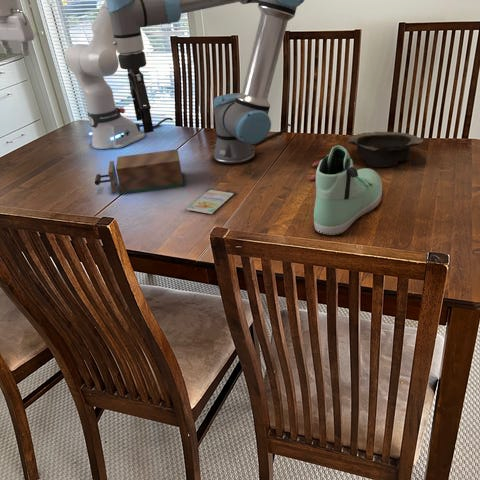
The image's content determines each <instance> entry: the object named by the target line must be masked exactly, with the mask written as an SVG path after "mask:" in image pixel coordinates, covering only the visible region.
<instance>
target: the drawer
mask: <svg viewBox="0 0 480 480" xmlns="http://www.w3.org/2000/svg"><path fill="white" fill-rule="evenodd" d="M115 165H116V164H115V161H114V160H111V161H109V166H108V172H107V174H103V175H102V174H100V173H97V174H96V175H95V179H94V185H96V186H99V185H100V184H105V183H110V186H111V191H112V192H113V193H115V192H117V190H118V183H119V180H118V176H117V171H116V166H115ZM108 177H109V179H102V178H108Z"/></svg>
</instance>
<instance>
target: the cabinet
mask: <svg viewBox="0 0 480 480" xmlns="http://www.w3.org/2000/svg"><path fill="white" fill-rule="evenodd" d="M115 165H116V166H115V170H116V174H117V179H118V184H119V185H118V186H119V189H120V193H121V195H126V194H127V195H128V194H136V193H141V192H148V191H149V192H150V191H159V190H164V189H165V190H166V189H170V188H171V189H172V188H178V187H184V181H183V175H182V174H183V173H182V167H181V160H180V154H179V150H178V149H177V148H176V149H170V150H162V151H154V152H146V153H145V152H144V153H137V154H130V155H122V156H117V158H116V164H115Z"/></svg>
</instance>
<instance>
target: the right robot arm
mask: <svg viewBox="0 0 480 480" xmlns="http://www.w3.org/2000/svg"><path fill="white" fill-rule="evenodd" d="M304 2H305V0H107V4H108V13H109V16H110V20H111V25H112V29H113V34H114V38H115V40H116V41H115V42H113V45H116V48H117V50H116V53H118V55H117V57H118V61H119V67H120V69H122V70H126V71H127V78H128V82H129V83H128V84H129V90H130V95H131V98H132V104H133V108H134V112H135V113H134V114H135V117H136V121H138V122H139V121H141V122H142V125H143V126H142V128H143V133H144V134H149V133H153V132H155V130H154V128H153V126H154V124H153V120H152V119H153V118H152V113H151V109H152V107H151V104H150V100H149V97H148V96H149V95H148V92H147V88H146V84H145V78H144V73H143V72H142V71H141V70H140V69H141V68H144V67H145V66H147V59H146V53H145V52H144V49H145V46H144V41H143V36H142V35H143V34H142V32H141V28H147V27H153V26H161V25H171V24H173V23H178V22H179V21H180V20H181V18H182V15H184V14H186V13H187V14H188V13H191V12H192V13H193V12H197V11H202V10H206V9H212V8H217V7H221V6H226V5H230V4H235V3H240V4H241V5H247V4H257V9H258V10H259V12H260V17H259V22H258V25H257V28H256V33H255V38H254V41H253V44H252V45H253V46H252V50H251V54H250V57H249V62H248V66H247V71H246V75H245V78H244V83H243V86H242V90H241V92H235V93H227V94H222V95H218V96H216V97H214V99H213V114H214V121H215V132H216V141H215V146H214V150H213V159H214V161H215V162H216V163H218V164H221V165H228V166H233V165H240V164H246V163H248V162H250V161H252V160H253V159H254V158H255V157H256V155H255V149H254V148H255V147H254V146H256V145H259V144H261V143H263V142H264V141H266V140H268V139H270V138H272V137H275V136H277V135H280V134H282V133H283V132H285V131H286V130H287V129H288V127H291V126H292V125H291V124H290V123H287V124H286V125H285V127H284V128H283V129H281V130H280V131H277V132H275V133H273V134H270V135H269V133H270V131H271V128H272V121H271V118H270V115H269V112H270V108H271V104H270V102H269V100H268V98H269V94H270V91H271V86H272V84H273V79H274V76H275V71H276V68H277V64H278V61H279V58H280V57H279V56H280V52H281V48H282V46H283V42H284V37H285V34H286V30H287V26H288V22H289V21H290V20H292V19H293V18H295V16H296V13H297V9H298V7H299V6H301V5H302V4H303V3H304Z"/></svg>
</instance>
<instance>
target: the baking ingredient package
mask: <svg viewBox="0 0 480 480" xmlns="http://www.w3.org/2000/svg"><path fill="white" fill-rule="evenodd" d="M233 195H235V193H234V192H228V191H222V190H215V189H209V190H208V191H207V192H205V193H204V194H202V196H200V197H199V198H198V199H197V200H196V201H194V202H193V203H192V204H190V205H189V206H188V207H187V208H186V210H187V211H194V212H198V213H204V214H209V215H212V214H214V212H216V211H217V210H218V208H220V207H221V206H222V205H223V204H225V202H227V201H228V200H229V199H230V198H231V197H232V196H233Z"/></svg>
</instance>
